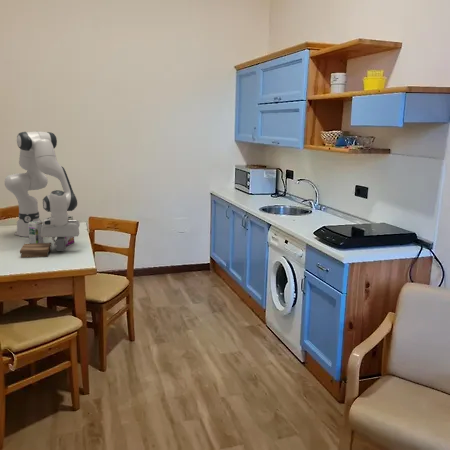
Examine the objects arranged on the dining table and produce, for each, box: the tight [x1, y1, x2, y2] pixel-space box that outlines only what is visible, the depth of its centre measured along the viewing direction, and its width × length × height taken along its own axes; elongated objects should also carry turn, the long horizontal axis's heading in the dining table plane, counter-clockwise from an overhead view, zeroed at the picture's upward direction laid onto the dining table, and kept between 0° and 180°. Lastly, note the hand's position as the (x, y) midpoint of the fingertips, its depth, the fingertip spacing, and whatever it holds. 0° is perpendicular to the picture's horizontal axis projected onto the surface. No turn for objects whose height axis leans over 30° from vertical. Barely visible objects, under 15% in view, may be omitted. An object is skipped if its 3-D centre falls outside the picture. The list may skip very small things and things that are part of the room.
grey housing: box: [55, 237, 67, 252], centre depth 264 cm, size 10×4×6 cm, turn 13°
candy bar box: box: [65, 215, 75, 248], centre depth 277 cm, size 11×5×16 cm, turn 168°
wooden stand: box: [19, 242, 52, 259], centre depth 260 cm, size 14×14×4 cm
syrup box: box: [28, 221, 45, 244], centre depth 273 cm, size 6×6×14 cm
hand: (60, 244), depth 264 cm, fingers closed on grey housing, 4 cm apart
